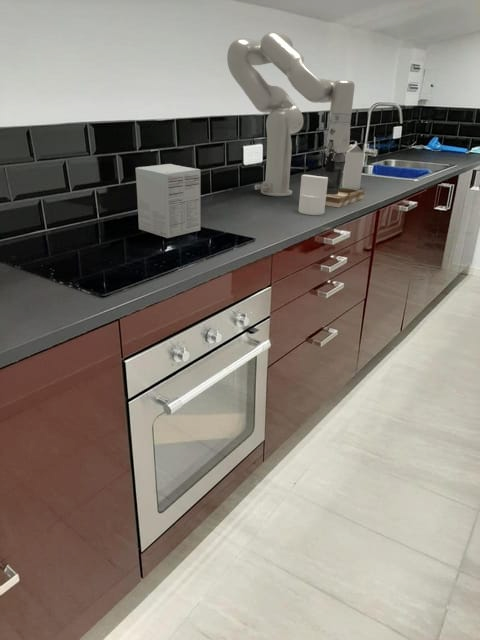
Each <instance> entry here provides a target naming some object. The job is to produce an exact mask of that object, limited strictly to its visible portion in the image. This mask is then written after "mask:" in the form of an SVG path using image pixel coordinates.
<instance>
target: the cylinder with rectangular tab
mask: <svg viewBox="0 0 480 640" xmlns="http://www.w3.org/2000/svg"><path fill="white" fill-rule="evenodd" d="M327 183H328V177H326V176H321V175H319V176H318V175H313V174H302V175H301V178H300V188H299V189H300V191H299V201H298V203H299V204H298V213H300V214H303V215H308V216H309V215H310V216H319V215H324V214H325V210H326V205H325V202H326V193H327Z"/></svg>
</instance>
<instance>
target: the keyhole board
mask: <svg viewBox="0 0 480 640" xmlns="http://www.w3.org/2000/svg"><path fill="white" fill-rule="evenodd" d="M364 195H365V190H362V189H361V190H360V189H351V188H345V187H342V186H340V188H339V192H338V194H336V195H332V194H327V193H326V202H325V206H328V207H334V208H342V207H344V206H347V205H350V204H352V203H355V202H359V201H361V200H363V199H364Z"/></svg>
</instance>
